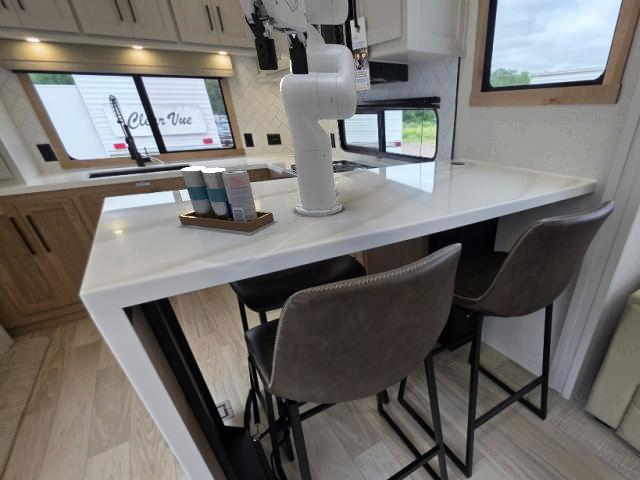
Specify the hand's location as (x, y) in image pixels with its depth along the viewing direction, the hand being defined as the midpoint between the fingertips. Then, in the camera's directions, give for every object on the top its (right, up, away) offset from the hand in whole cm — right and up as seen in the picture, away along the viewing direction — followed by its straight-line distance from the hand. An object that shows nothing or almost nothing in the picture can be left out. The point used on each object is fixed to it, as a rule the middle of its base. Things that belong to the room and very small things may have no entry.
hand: (285, 72), depth 58 cm
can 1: (-27, -20, +24) cm, 41 cm away
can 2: (-22, -21, +22) cm, 38 cm away
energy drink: (-17, -22, +21) cm, 35 cm away
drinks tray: (-22, -22, +23) cm, 38 cm away
